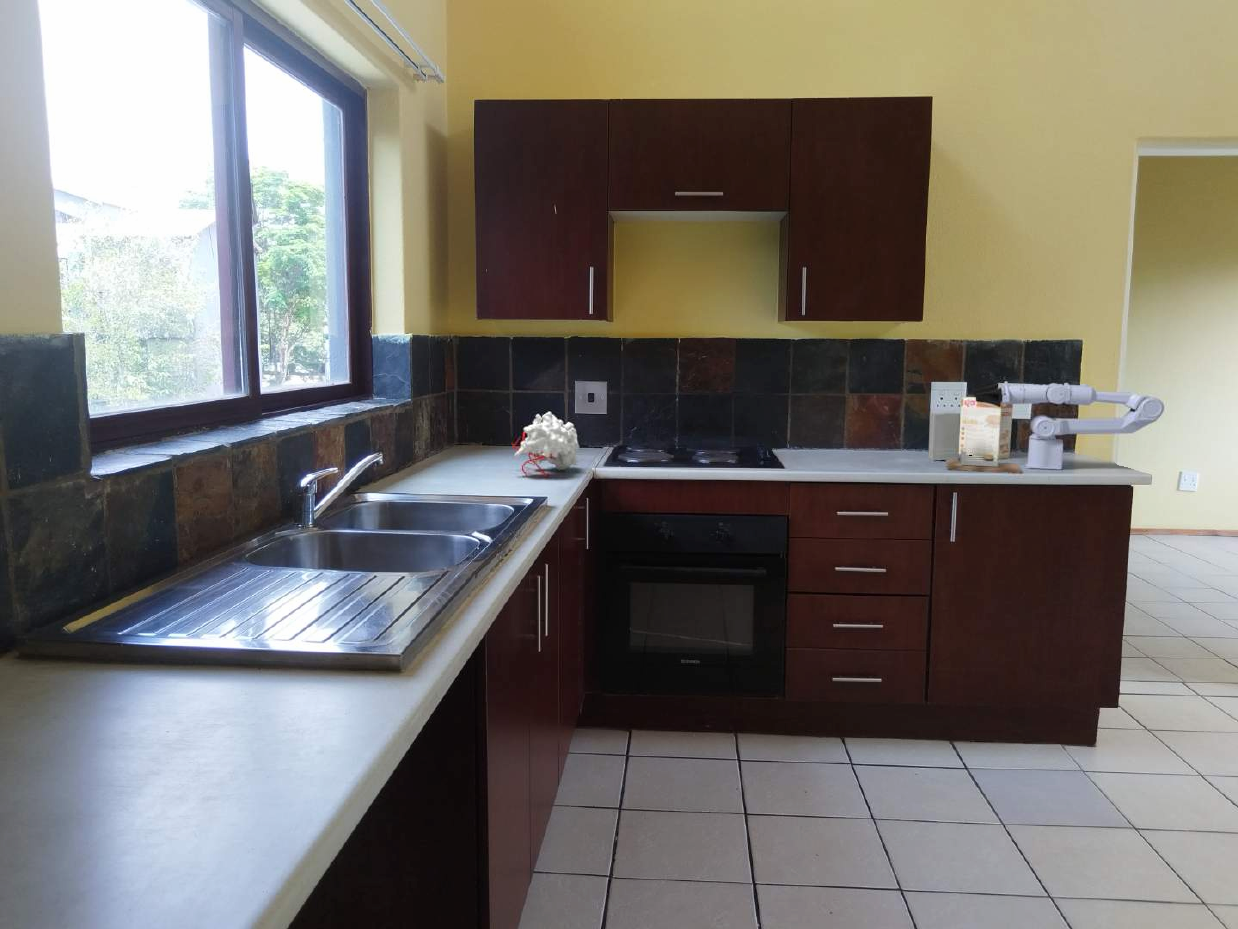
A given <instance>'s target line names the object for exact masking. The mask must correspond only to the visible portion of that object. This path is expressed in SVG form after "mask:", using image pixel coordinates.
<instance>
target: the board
mask: <svg viewBox="0 0 1238 929" xmlns="http://www.w3.org/2000/svg"><path fill="white" fill-rule="evenodd" d="M983 457H984V459H986V461H992V460H993V459H994V457H993V455H983ZM945 462H946V464H947V465H946V464H945V465H946V470H947V469H952V470H951V471H960V470H975V471H974V472H980V471H991V472H990V473H1000V472H1012V473H1011V474H1021V469H1020V466H1019V465H1018V463H1017V462H1016V463H1015V462H999V461H998V467H995V466H974V465H961V461H960V460H958V461H957V460H947V461H945Z"/></svg>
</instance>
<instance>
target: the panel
mask: <svg viewBox="0 0 1238 929" xmlns="http://www.w3.org/2000/svg"><path fill="white" fill-rule="evenodd" d="M966 453H967V452H966V448H962V447H961V454H960V460H959V461H961V465H974V466H995V467H998V462H999V460H998V459H996V457H994V459H993V460H992V461H986V459H984V457H983V456H969V455H966Z"/></svg>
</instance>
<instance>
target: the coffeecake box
mask: <svg viewBox="0 0 1238 929" xmlns="http://www.w3.org/2000/svg"><path fill="white" fill-rule="evenodd" d="M960 404H961V405H960V432H959V455H961V447H962V448H966V452H967V453H966V456H969V455H972V456H983V455H993V457H996V459H997V460H1000V459H1010V457H1011V456H1010V454H1011V452H1010V451H1011V436H1012V422H1013V410H1014V408H1013V407H1014V404H1007V405H1004V402H1001V406H1000V407H998V406H996V405H993V404H989V403H983V402H977V401H976V397H974V396H965V397H963V396H962V397H961V403H960Z"/></svg>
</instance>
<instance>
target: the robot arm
mask: <svg viewBox="0 0 1238 929" xmlns="http://www.w3.org/2000/svg"><path fill="white" fill-rule="evenodd" d="M1008 382H1009V381H1004V385H1003V386H1002V387H999V384H998V383H997V382H996V383H994V384H992V385H989V386H986V387H982V388H978V389H977V388H976V389H974V390H973V397H976V401H977V402H983V403H989V404H993V405H996V406H998V407H1000V406H1001V402H1004V405H1007V404H1013V405H1023V404H1025V405H1027V404H1028V405H1029V404H1040V403H1041V404H1042V403H1053V404H1057V405H1062V404H1063V403H1065V404H1066V405H1078V406H1090V405H1091V404H1093V403H1094V402H1099V403H1107V404H1108V403H1109V404H1118V405H1124V406H1125V407H1127V408H1128V409H1130V410H1129V411H1127V412H1126V414H1124V416H1122V417H1099V418H1098V417H1097V418H1096V417H1095V418H1094V417H1092V418H1091V417H1090V418H1087V417H1085V418H1083V417H1082V418H1059V417H1050V416H1047V415H1045V414H1044V415H1043V414H1041V415H1040V414H1039V415H1036V416H1035V417H1033V418H1032V419H1031V421H1030V423H1029V428H1030V430H1031V432H1032V434H1031V435H1029V438H1028V439H1029V440H1028V452H1027V462H1026V463H1024V465H1025V467H1026V468H1027V469H1040V470H1041V469H1042V470H1043V469H1045V470H1062V466H1063V454H1064V440H1063V439H1059V438H1058V439H1057V437H1056V436H1062V435H1063V436H1064V435H1096V434H1097V435H1106V434H1112V435H1114V434H1121V435H1122V434H1134V433H1135V432H1138V431H1139V430H1142V429H1143V428H1144V427H1146V426H1148V425H1150V424H1153V423H1155V422H1157V421H1158V420H1159V418H1160V417H1161V416H1162V415H1163V413H1164V411H1165V405H1164V403H1163V401H1162V400H1161V399H1160V398H1157V397H1154V396H1152V397H1151V396H1149V395H1144V394H1143V395H1142V394H1139V393H1138V394H1137V393H1133V392H1127V391H1126V392H1125V391H1124V392H1123V391H1101V390H1100V391H1099V390H1095V389H1094V388H1093V387H1092V386H1091V385H1088V384H1087V383H1082V384H1081V385H1079V384H1078V385H1076V384H1069V382H1064V383H1063V384H1062V383H1059V384H1058V383H1055V382H1053V383H1049V384H1013V385H1010V384H1008Z"/></svg>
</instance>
